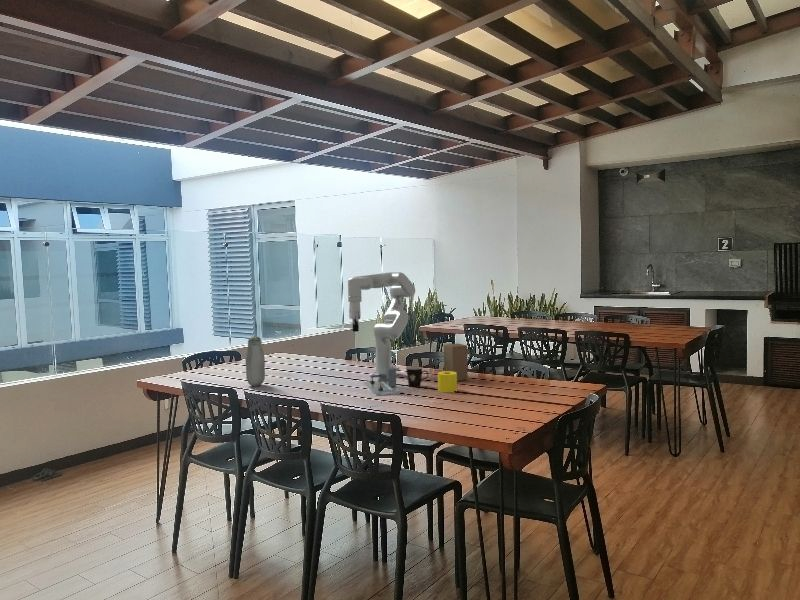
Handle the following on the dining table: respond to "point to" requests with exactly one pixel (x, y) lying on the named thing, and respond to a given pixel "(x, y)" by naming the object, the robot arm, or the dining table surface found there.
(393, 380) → the sliding jaw
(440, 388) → the tape roll
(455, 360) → the wooden block
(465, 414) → the dining table surface
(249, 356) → the grey vase
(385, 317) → the robot arm
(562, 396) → the dining table surface
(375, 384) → the gauge board
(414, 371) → the coffee mug
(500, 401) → the dining table surface
